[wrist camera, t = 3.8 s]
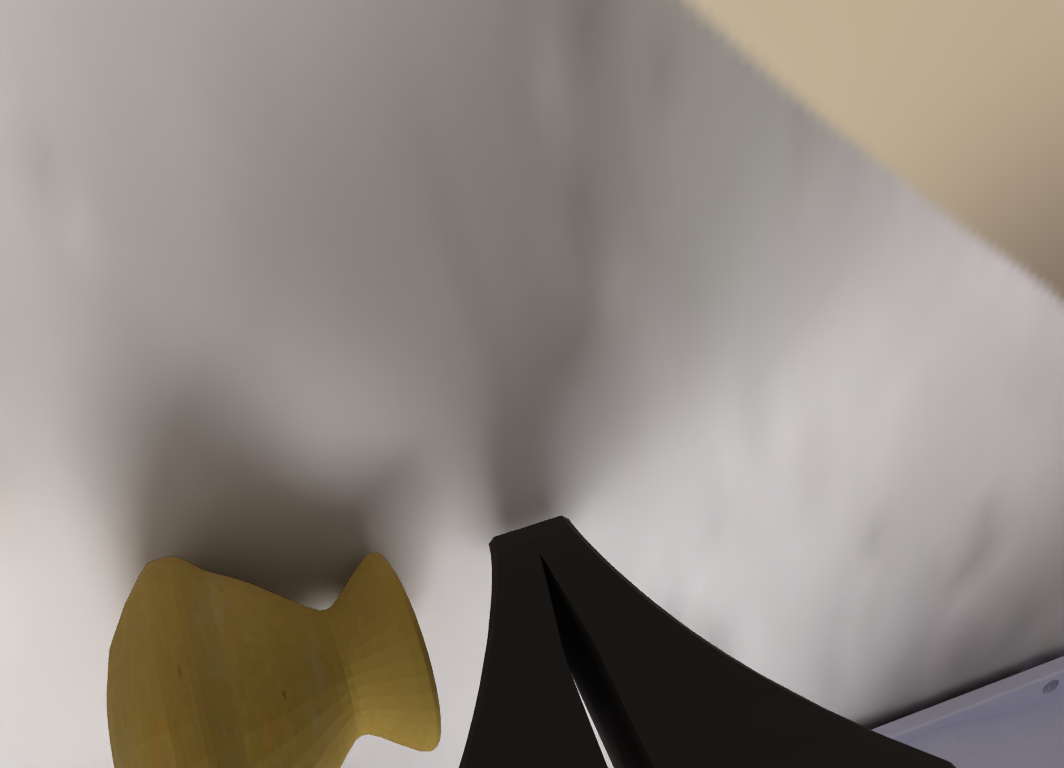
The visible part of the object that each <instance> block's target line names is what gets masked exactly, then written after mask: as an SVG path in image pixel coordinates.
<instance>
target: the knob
mask: <svg viewBox="0 0 1064 768" xmlns="http://www.w3.org/2000/svg"><path fill="white" fill-rule="evenodd" d="M107 717H108V728H109V736H110V744H111V750H112V756H113V762H114V768H340V767H341V765H342V763H343V761H344V759H345V757H346V755H347V753H348V752H349V750H350V749H351V747H352V745H353V744H354V742H355V741H356V739H358V738H359V737H360V736H362V735H366V734H370V735H374V736H379V737H382V738H384V739H387V740H390V741H392V742H395V743H398V744H400V745H403V746H406V747H409V748H412V749H415V750H418V751H432V750H434V749H435V748H436V747H437V746H438V744H439V741H440V735H441V717H440V707H439V700H438V694H437V688H436V684H435V679H434V675H433V670H432V666H431V663H430V659H429V655H428V652H427V648H426V645H425V642H424V639H423V636H422V632H421V630H420V627H419V624H418V621H417V618H416V616H415V613H414V611H413V608H412V606H411V603H410V601H409V599H408V596H407V594H406V592H405V590H404V588H403V586H402V584H401V582H400V580H399V578H398V576H397V574H396V573H395V571H394V570H393V568H392V567H391V565H390V564H389V562H388V561H387V560H386V559H385V558H384V557H383V556H382V555H381V554H379V553H370V554H368V555H367V556H366V557H365V558H364V559H363V560H362V561H361V562H360V563H359V565H358V566H357V568H356V570H355V571H354V573H353V574H352V576H351V577H350V579H349V581H348V582H347V584H346V586H345V587H344V589H343V590H342V592H341V594H340V595H339V597H338V599H337V600H336V601H335V602H334V604H333V605H332V606H331V607H330V608H328V609H327V610H321V611H319V610H316V609H312V608H309V607H306V606H304V605H301V604H299V603H296V602H294V601H292V600H289V599H287V598H285V597H282V596H280V595H277V594H275V593H273V592H270V591H268V590H265V589H263V588H260V587H258V586H256V585H253V584H250V583H247V582H244V581H241V580H238V579H234V578H231V577H228V576H224V575H219V574H215V573H211V572H208V571H204V570H202V569H200V568H198V567H196V566H194V565H193V564H191V563H189V562H187V561H185V560H183V559H181V558H178V557H174V556H170V557H164V558H160V559H157V560H154V561H152V562H150V563H148V564H147V565H146V566H145V568H144V569H143V571H142V572H141V574H140V575H139V577H138V579H137V581H136V583H135V585H134V587H133V589H132V591H131V593H130V595H129V597H128V599H127V601H126V603H125V605H124V608H123V611H122V614H121V617H120V620H119V623H118V625H117V628H116V631H115V634H114V637H113V640H112V643H111V646H110V651H109V663H108V680H107Z"/></svg>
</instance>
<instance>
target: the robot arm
mask: <svg viewBox="0 0 1064 768" xmlns="http://www.w3.org/2000/svg"><path fill="white" fill-rule="evenodd" d="M489 547H490V552H491V562H492V596H491V608H490V619H489V630H488V638H487V645H486V651H485V657H484V663H483V669H482V675H481V681H480V686H479V691H478V696H477V701H476V705H475V710H474V714H473V718H472V722H471V726H470V730H469V734H468V738H467V742H466V745H465V749H464V752H463V756H462V759H461V762H460V766H459V768H608V767H607V764H606V762H605V759H604V757H603V754H602V752H601V749H600V747H599V744H598V742H597V739H596V737H595V734H594V732H593V729H592V726H591V724H590V721H589V719H588V716H587V714H586V711H585V709H584V706H583V703H582V701H581V698H580V696H579V693H578V690H579V692H580V694H581V696H582V699H583V701H584V703H585V705H586V707H587V710H588V712H589V714H590V716H591V718H592V721H593V723H594V725H595V727H596V729H597V732H598V734H599V736H600V738H601V740H602V742H603V745H604V747H605V749H606V751H607V753H608V756H609V758H610V760H611V762H612V764H613V767H614V768H1064V656H1062V657H1059V658H1057V659H1054V660H1051V661H1049V662H1046V663H1044V664H1041V665H1038V666H1036V667H1033V668H1031V669H1028V670H1025V671H1023V672H1020V673H1018V674H1015V675H1012V676H1010V677H1007V678H1004V679H1002V680H999V681H997V682H994V683H991V684H989V685H986V686H984V687H981V688H978V689H976V690H973V691H971V692H968V693H965V694H963V695H960V696H958V697H955V698H952V699H950V700H947V701H944V702H942V703H939V704H937V705H934V706H931V707H929V708H926V709H924V710H921V711H918V712H916V713H913V714H911V715H908V716H905V717H903V718H900V719H898V720H895V721H892V722H890V723H887V724H884V725H882V726H879V727H877V728H874V729H871V730H870V729H868V728H866V727H863V726H861V725H859V724H857V723H855V722H853V721H851V720H848V719H846V718H844V717H842V716H840V715H838V714H836V713H833V712H831V711H829V710H827V709H825V708H823V707H821V706H819V705H817V704H815V703H813V702H811V701H810V700H808V699H806V698H804V697H802V696H800V695H798V694H796V693H794V692H793V691H791V690H789V689H787V688H785V687H783V686H781V685H779V684H778V683H776V682H774V681H772V680H770V679H768V678H766V677H764V676H762V675H761V674H759V673H757V672H756V671H754V670H752V669H751V668H749V667H747V666H746V665H744V664H742V663H741V662H739V661H737V660H736V659H734V658H733V657H731V656H729V655H728V654H726V653H725V652H723V651H721V650H720V649H718V648H717V647H715V646H714V645H712V644H711V643H709V642H708V641H706V640H705V639H703V638H702V637H700V636H699V635H697V634H696V633H695V632H693V631H692V630H690V629H689V628H688V627H686V626H685V625H683V624H682V623H681V622H679V621H678V620H677V619H675V618H674V617H673V616H671V615H670V614H669V613H668V612H666V611H665V610H664V609H662V608H661V607H660V606H658V605H657V604H656V603H655V602H653V601H652V600H651V599H650V598H649V597H647V596H646V595H645V594H644V593H642V592H641V591H640V590H639V589H638V588H637V587H636V586H634V585H633V584H632V583H631V582H630V581H629V580H628V579H626V578H625V577H624V576H623V575H622V574H621V573H620V572H618V571H617V570H616V569H615V568H614V567H613V566H612V565H611V564H610V563H609V562H608V561H607V560H606V559H605V558H604V557H603V556H602V555H601V554H600V553H599V552H598V551H597V550H596V549H595V548H594V547H593V546H592V545H591V544H590V543H589V542H588V541H587V540H586V539H585V538H584V537H583V536H582V535H581V534H580V532H579V531H578V530H577V529H576V528H575V527H574V525H573V524H572V523H571V522H570V520H569V519H567V518H565V517H563V516H558V517H555V518H552V519H549V520H546V521H543V522H539V523H536V524H533V525H530V526H527V527H524V528H521V529H517V530H514V531H511V532H508V533H505V534H502V535H498V536H495V537H494V538H493V539H492V540H491V542H490V543H489ZM571 674H572V675H571ZM573 679H574V680H573ZM574 681H575V683H576V685H577V688H578V690H577V688H576V685H575V683H574Z"/></svg>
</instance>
